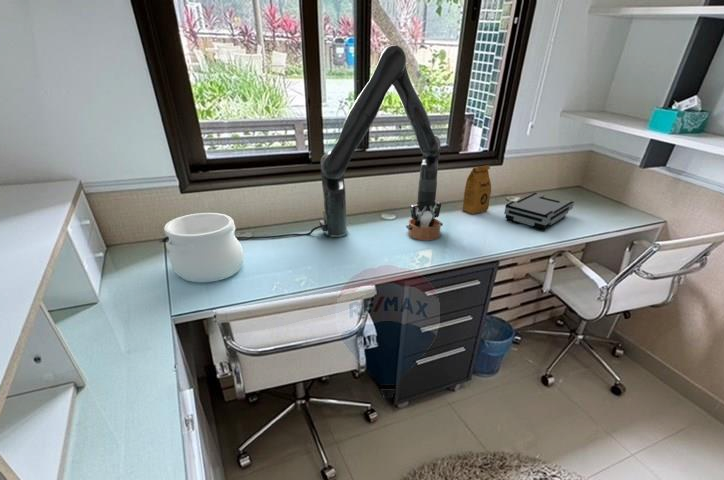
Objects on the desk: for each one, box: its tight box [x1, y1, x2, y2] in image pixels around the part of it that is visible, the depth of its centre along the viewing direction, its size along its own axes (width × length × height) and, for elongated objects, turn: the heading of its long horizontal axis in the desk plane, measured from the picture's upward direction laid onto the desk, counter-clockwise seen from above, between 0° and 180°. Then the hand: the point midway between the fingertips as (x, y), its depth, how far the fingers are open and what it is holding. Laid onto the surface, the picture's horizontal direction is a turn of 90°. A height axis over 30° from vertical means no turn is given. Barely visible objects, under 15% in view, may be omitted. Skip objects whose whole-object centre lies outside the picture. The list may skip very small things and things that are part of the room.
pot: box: [163, 212, 245, 283], centre depth 143 cm, size 26×24×18 cm
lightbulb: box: [420, 211, 432, 228], centre depth 177 cm, size 6×6×11 cm
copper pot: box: [405, 218, 444, 241], centre depth 179 cm, size 16×14×6 cm
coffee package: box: [461, 164, 492, 215], centre depth 200 cm, size 10×12×22 cm
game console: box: [503, 192, 575, 232], centre depth 197 cm, size 21×32×8 cm, turn 138°
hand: (424, 227), depth 178 cm, fingers closed on lightbulb, 5 cm apart
